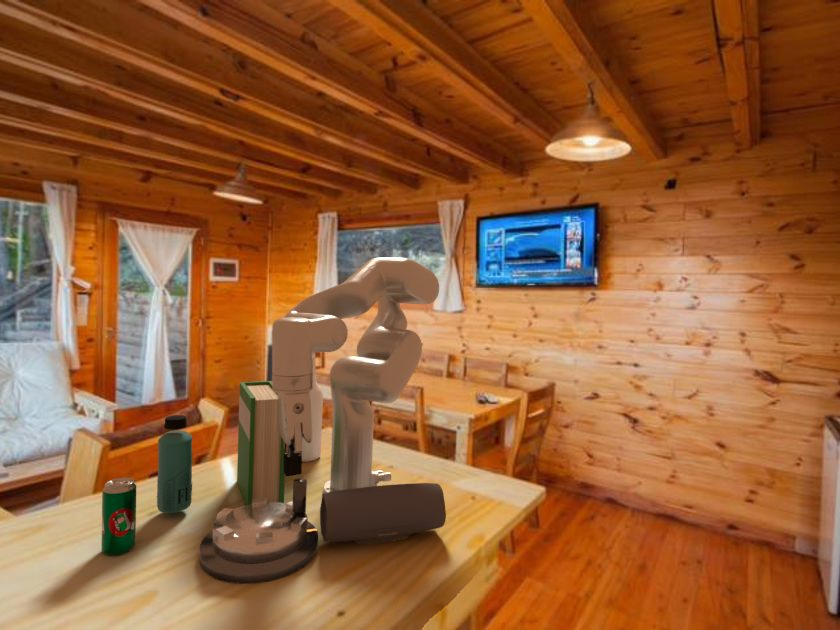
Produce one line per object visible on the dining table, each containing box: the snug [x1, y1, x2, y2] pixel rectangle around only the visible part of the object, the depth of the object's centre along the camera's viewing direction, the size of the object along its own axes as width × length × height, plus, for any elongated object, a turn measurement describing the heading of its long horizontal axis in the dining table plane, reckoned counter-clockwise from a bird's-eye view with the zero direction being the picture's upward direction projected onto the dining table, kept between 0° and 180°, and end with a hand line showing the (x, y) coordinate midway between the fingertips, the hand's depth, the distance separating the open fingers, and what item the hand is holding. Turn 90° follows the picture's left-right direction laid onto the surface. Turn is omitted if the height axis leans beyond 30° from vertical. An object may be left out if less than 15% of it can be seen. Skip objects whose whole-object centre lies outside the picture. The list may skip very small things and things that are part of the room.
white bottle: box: [302, 352, 324, 463], centre depth 135 cm, size 9×9×30 cm
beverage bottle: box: [156, 414, 194, 514], centre depth 99 cm, size 6×7×20 cm
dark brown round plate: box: [198, 521, 319, 585], centre depth 87 cm, size 20×20×2 cm
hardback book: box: [236, 380, 286, 505], centre depth 110 cm, size 18×7×24 cm, turn 27°
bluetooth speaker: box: [319, 482, 447, 545], centre depth 93 cm, size 23×9×10 cm, turn 109°
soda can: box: [100, 477, 137, 557], centre depth 85 cm, size 5×5×12 cm
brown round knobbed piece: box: [212, 477, 309, 563], centre depth 87 cm, size 16×16×10 cm
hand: (292, 473), depth 96 cm, fingers closed
